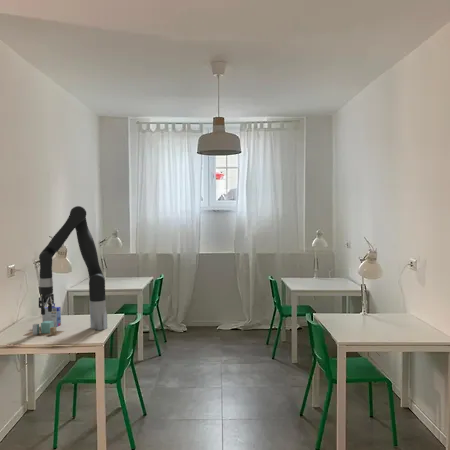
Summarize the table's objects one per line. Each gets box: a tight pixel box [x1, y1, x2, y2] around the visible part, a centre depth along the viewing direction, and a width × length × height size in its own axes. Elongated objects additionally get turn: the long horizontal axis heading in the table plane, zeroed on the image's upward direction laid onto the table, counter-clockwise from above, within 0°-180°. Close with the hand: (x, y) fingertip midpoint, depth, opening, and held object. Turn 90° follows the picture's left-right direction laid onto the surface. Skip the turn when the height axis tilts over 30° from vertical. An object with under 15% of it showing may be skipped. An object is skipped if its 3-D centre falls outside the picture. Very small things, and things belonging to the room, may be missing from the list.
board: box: [22, 330, 65, 337], centre depth 298 cm, size 20×11×1 cm, turn 83°
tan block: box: [50, 327, 58, 335], centre depth 294 cm, size 3×3×4 cm
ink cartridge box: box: [41, 302, 62, 328], centre depth 316 cm, size 10×6×14 cm, turn 81°
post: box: [32, 323, 40, 335], centre depth 295 cm, size 3×3×6 cm
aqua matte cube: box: [40, 321, 54, 333], centre depth 300 cm, size 5×5×6 cm
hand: (46, 313), depth 300 cm, fingers open, 8 cm apart
